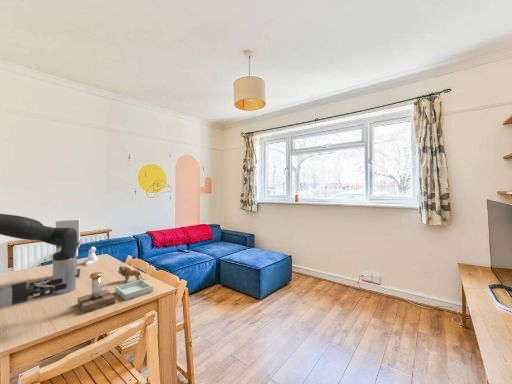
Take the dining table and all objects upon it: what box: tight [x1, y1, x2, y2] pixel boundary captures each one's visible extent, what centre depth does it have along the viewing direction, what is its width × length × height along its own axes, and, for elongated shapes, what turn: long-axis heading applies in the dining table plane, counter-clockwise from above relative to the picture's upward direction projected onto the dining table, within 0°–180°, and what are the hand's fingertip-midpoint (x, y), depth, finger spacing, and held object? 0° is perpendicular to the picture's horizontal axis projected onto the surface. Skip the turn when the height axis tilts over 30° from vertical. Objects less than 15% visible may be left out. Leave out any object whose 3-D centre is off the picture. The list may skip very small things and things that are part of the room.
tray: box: [114, 278, 154, 301], centre depth 123 cm, size 14×14×3 cm
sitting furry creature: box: [82, 246, 99, 267], centre depth 169 cm, size 10×9×12 cm
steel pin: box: [89, 271, 103, 301], centre depth 111 cm, size 5×5×14 cm
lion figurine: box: [117, 265, 145, 283], centre depth 138 cm, size 15×5×9 cm, turn 94°
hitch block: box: [77, 289, 116, 314], centre depth 111 cm, size 12×12×3 cm
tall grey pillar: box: [55, 217, 81, 279], centre depth 144 cm, size 11×11×35 cm
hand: (64, 283), depth 101 cm, fingers open, 8 cm apart
